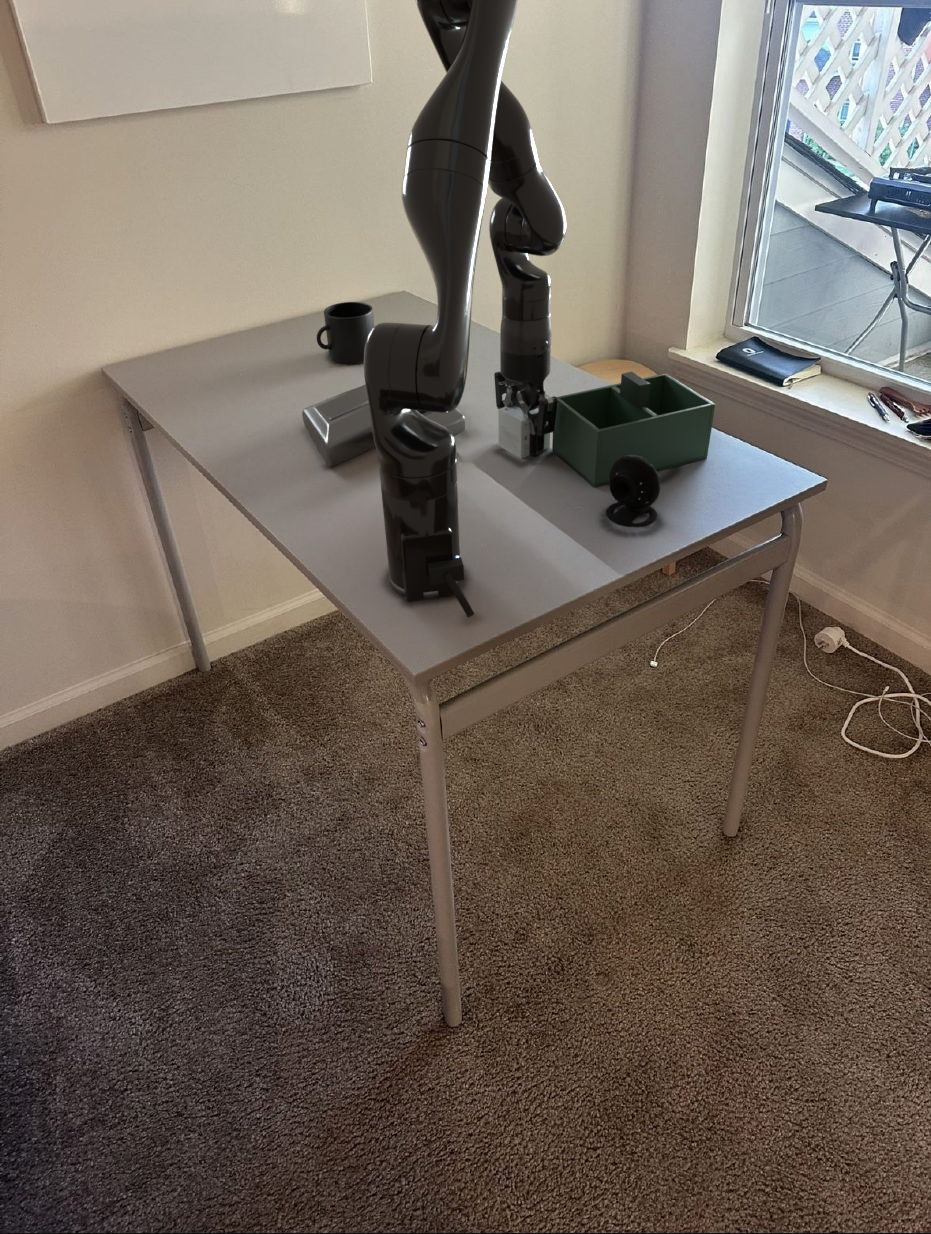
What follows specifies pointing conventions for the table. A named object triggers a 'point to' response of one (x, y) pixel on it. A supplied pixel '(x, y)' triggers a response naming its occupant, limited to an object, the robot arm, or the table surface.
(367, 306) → the mug
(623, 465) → the webcam
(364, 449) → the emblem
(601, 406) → the bin
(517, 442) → the product carton
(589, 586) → the table surface
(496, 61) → the robot arm
